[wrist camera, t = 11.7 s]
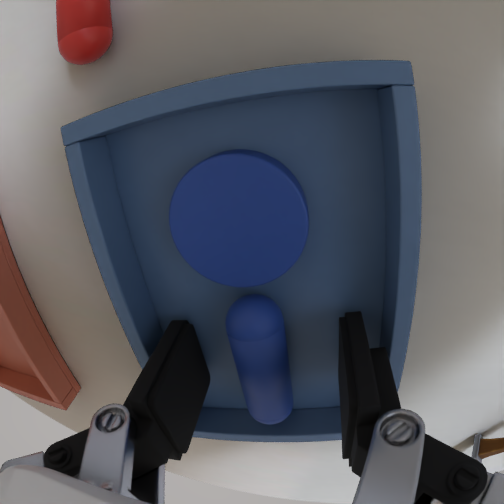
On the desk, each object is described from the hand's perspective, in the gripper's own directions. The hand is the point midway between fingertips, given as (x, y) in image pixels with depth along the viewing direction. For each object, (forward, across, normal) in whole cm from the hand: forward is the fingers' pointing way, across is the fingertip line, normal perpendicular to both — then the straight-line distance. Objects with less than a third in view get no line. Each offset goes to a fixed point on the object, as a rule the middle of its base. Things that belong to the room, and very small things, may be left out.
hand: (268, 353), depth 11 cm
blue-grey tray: (+1, 0, -2) cm, 2 cm away
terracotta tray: (+1, +16, -2) cm, 17 cm away
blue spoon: (0, 0, -2) cm, 2 cm away
